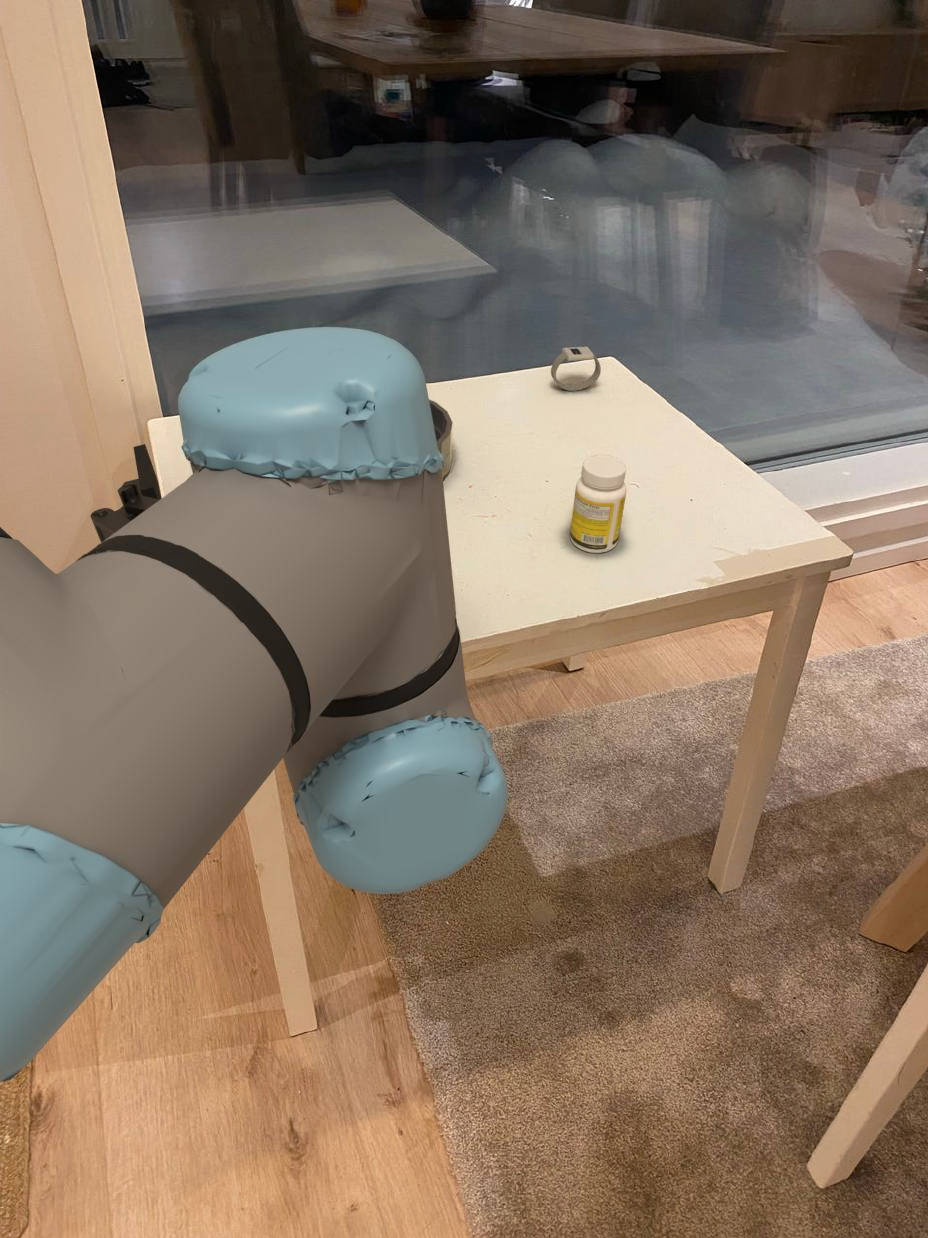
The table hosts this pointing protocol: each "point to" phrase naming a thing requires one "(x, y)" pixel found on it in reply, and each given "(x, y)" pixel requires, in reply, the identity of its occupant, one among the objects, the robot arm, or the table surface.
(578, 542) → the supplement bottle
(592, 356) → the wristwatch
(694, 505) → the table surface
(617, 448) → the table surface
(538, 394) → the table surface
